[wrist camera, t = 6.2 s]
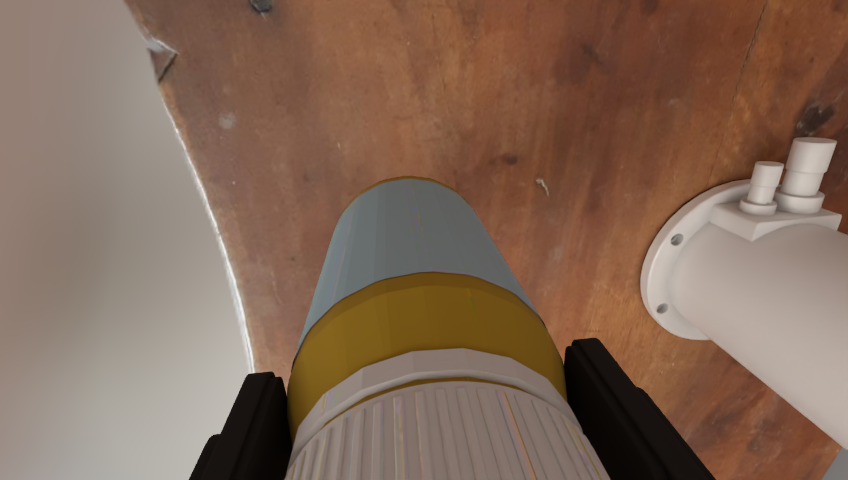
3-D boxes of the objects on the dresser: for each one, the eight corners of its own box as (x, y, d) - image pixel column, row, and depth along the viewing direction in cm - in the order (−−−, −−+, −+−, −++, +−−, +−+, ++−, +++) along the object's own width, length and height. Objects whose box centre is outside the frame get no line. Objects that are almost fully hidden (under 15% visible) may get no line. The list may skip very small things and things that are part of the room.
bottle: (410, 328, 22) (454, 784, 8) (304, 247, 19) (104, 693, 6) (508, 239, 20) (775, 611, 6) (405, 139, 18) (474, 386, 4)
